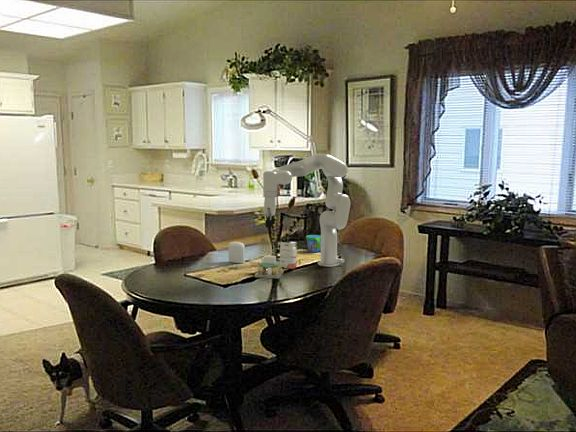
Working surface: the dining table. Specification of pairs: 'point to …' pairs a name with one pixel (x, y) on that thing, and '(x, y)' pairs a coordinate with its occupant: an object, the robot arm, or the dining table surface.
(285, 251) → the ink cartridge box
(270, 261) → the circuit board
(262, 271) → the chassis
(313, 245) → the snack cup
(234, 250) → the photo printer
